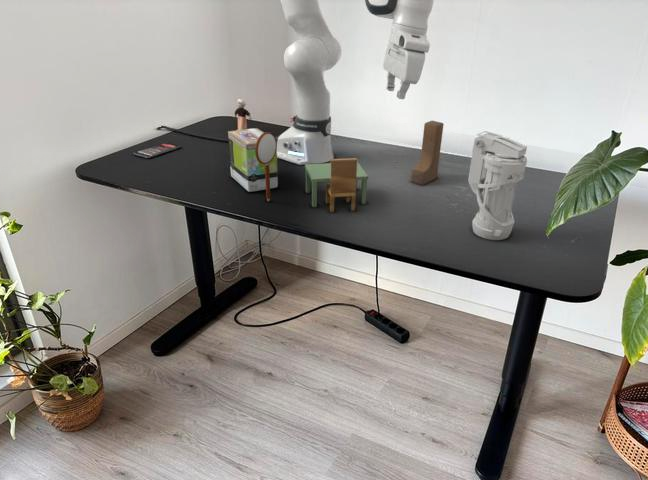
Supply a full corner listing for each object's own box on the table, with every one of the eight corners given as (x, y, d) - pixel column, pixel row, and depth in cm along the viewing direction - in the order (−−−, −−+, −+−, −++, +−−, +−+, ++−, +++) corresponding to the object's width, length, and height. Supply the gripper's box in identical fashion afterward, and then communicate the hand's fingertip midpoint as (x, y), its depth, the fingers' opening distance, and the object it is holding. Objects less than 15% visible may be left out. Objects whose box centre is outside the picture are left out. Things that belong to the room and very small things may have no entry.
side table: (305, 191, 162) (304, 164, 158) (356, 188, 166) (357, 161, 161) (312, 207, 152) (312, 179, 148) (366, 204, 156) (368, 176, 151)
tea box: (279, 187, 164) (277, 139, 156) (248, 193, 159) (245, 144, 152) (259, 171, 175) (257, 126, 167) (230, 176, 170) (226, 130, 163)
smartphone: (180, 145, 192) (147, 156, 181) (181, 147, 192) (147, 158, 181) (166, 141, 195) (132, 152, 184) (166, 143, 196) (132, 154, 184)
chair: (325, 202, 156) (326, 152, 148) (349, 200, 157) (351, 150, 150) (330, 212, 150) (331, 160, 142) (354, 210, 152) (357, 159, 144)
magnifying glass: (275, 195, 159) (273, 128, 148) (280, 197, 158) (277, 129, 148) (256, 205, 152) (252, 135, 142) (261, 207, 151) (257, 136, 141)
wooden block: (422, 185, 170) (428, 128, 160) (410, 181, 172) (416, 125, 163) (437, 178, 176) (444, 122, 166) (425, 174, 178) (431, 120, 169)
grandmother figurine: (232, 132, 210) (229, 99, 204) (235, 129, 214) (233, 97, 207) (251, 134, 209) (249, 100, 203) (254, 131, 213) (252, 98, 206)
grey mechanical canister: (517, 231, 144) (537, 139, 131) (500, 244, 137) (520, 148, 124) (473, 217, 151) (488, 128, 138) (455, 229, 144) (469, 136, 131)
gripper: (383, 31, 143) (373, 84, 150) (408, 41, 126) (395, 101, 133) (405, 35, 145) (394, 87, 152) (432, 46, 128) (418, 105, 135)
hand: (394, 94), depth 142 cm, fingers open, 8 cm apart
